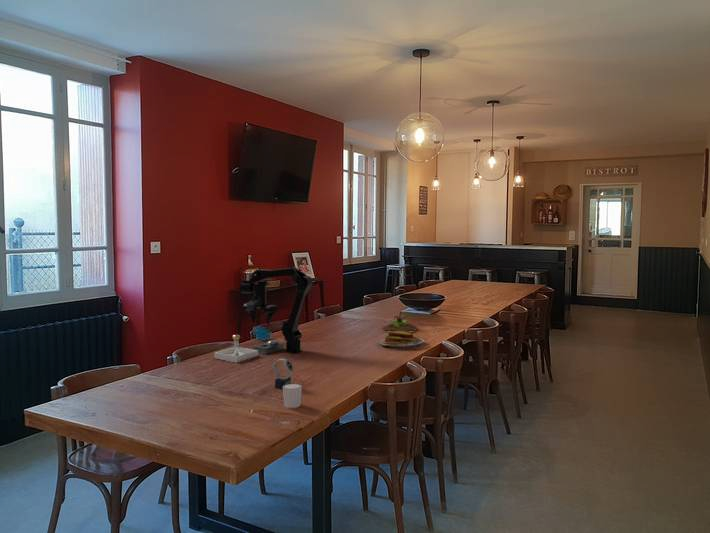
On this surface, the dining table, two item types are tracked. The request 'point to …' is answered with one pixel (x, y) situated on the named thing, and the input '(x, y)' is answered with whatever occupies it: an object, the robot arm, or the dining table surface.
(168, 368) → the dining table surface
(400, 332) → the food on plate
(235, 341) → the pin
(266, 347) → the block
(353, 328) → the dining table surface
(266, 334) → the gear
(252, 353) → the tray
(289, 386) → the shot glass
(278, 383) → the watch
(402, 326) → the plant
